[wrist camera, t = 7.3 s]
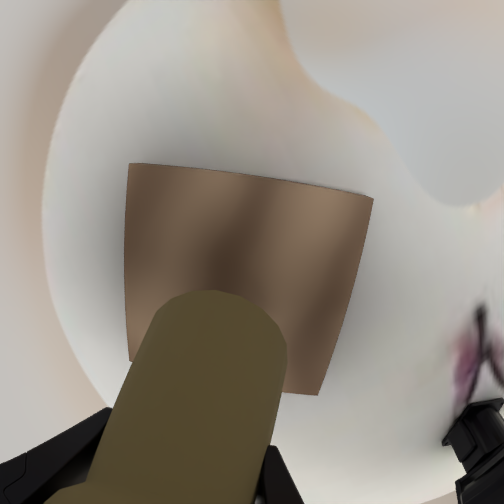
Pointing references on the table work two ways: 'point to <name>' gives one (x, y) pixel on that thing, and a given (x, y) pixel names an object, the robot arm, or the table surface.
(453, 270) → the table surface
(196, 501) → the olive rounded upright piece
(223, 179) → the walnut board
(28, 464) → the robot arm
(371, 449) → the table surface
